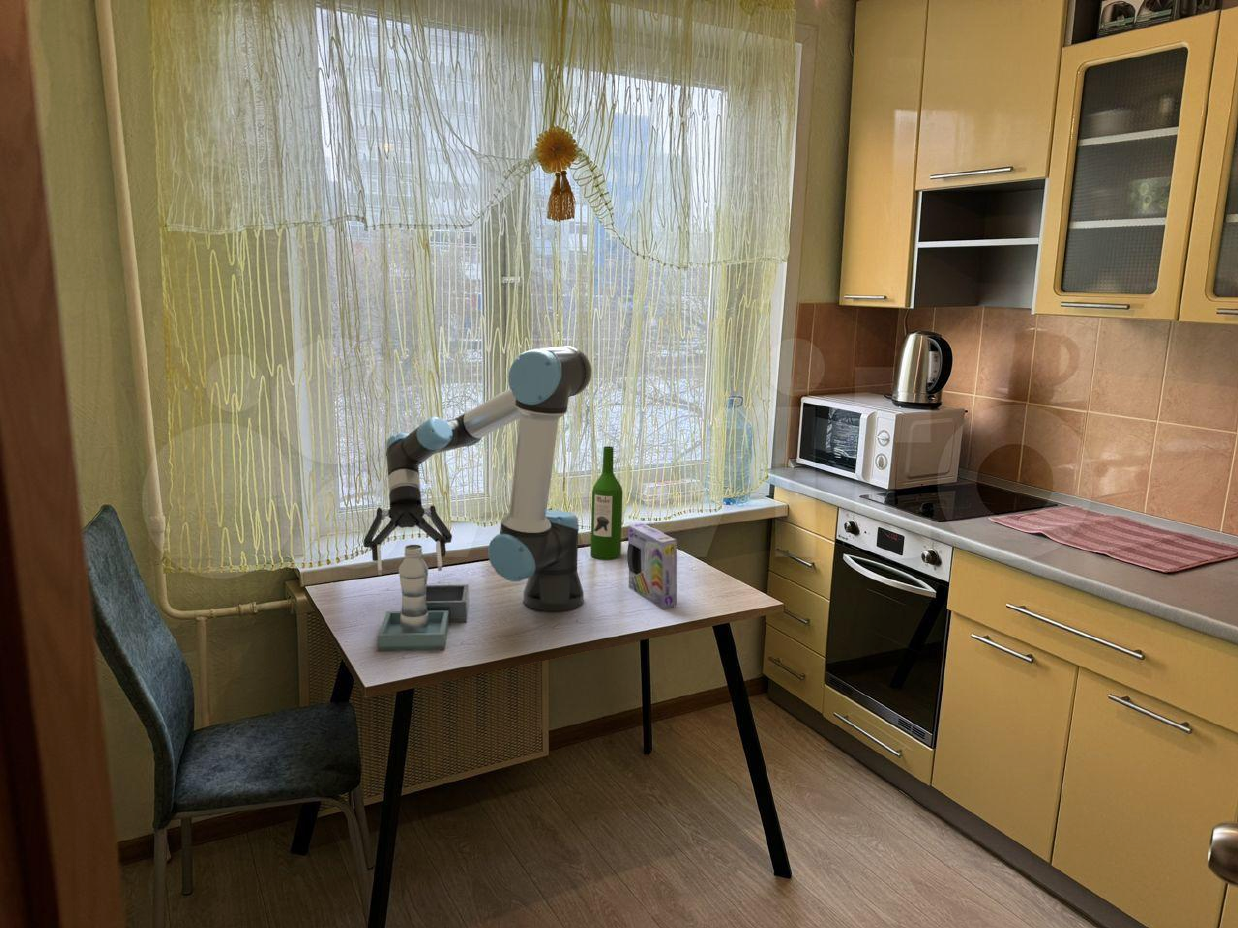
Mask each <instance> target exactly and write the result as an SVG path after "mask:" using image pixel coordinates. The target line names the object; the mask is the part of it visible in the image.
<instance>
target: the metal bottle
mask: <svg viewBox="0 0 1238 928" xmlns="http://www.w3.org/2000/svg"><path fill="white" fill-rule="evenodd" d="M422 551H423V549H422V545H419V544H407V545H406V546H405V547H404V557H405V558H404V560H403V561H402V562H401V564H400V566H399V567H398V575H399V581H400V589H401V599H402V600H401V611H402V612H401V616H400V627H401V630H402V631H403V633H425V632H426V631H427V629H428V628H429V615H428V611H427V601H426V587H427V585H428V579H429V578H428V576H429V566H428V564H427V563H426V561H425V560H424V559H423V558H422V556H423V552H422Z"/></svg>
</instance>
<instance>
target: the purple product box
mask: <svg viewBox="0 0 1238 928" xmlns="http://www.w3.org/2000/svg"><path fill="white" fill-rule="evenodd" d="M627 527H628V528H627V530H628V538H627V539H628V540H627V542H628V545H627V551H626V555H627V556H626V557H627V559H626V560H627V567H628V588H629V589H631V590H632V591H634V592H636V593H637V594H639V595H640V596H641V597H643V596H644V597H643V598H645V599H647V600H648V601H650V602H651V603H653V604H655V605H656V606H657V607H660V609H668V608H675V607H674V606H677V604H678V600H677V599H678V540H677V539H676V538H674V537H671V536H670V535H667V534H665V533H664V532H663V531H661V530H659V529H658V528H655V527H652V526H650V525H648V524H646V523H644V522H637V523H633V524H628V526H627Z"/></svg>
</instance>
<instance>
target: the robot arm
mask: <svg viewBox="0 0 1238 928" xmlns="http://www.w3.org/2000/svg"><path fill="white" fill-rule="evenodd" d="M591 378H592V365H591V362H590V360H589V359H588V356H586V354H585V353H584V352H583V351H581V350H580V349H579V348H576V347H573V346H569V345H564V346H563V345H562V346H553V347H536V348H533V349H529V350H527V351H523V352H522V353H520V354H519V355H518V356H517V357H516V358H515V359H514V360H513V362H512V364H511V365H510V367H509V371H508V378H507V379H508V387H509V388H508V389H506V390H504V391H503V392H501V393H498V394H497V395H495V396H493V397H491V398H490V399H488V400H486V401H485V402H482V403H481V404H479V405H478V406H475V407H474V408H471V409H469V410H468V411H466V412H464V413H463V414H461V415H459V416H457V417H455V418H453V419H448V420H445V419H443V418H440V417H438V416H432V417H430V418H428V419H427V420H426V421H423V422H422V423H421V424H420V425H419V426H418V427H416V428H415V429H414V430H413V431H411V432H410V433H402V432H401V433H397V434H395V435H391V436H389V438H388V439H387V440H386V451H385V456H386V469H387V480H388V481H387V483H388V499H389V500H388V501H389V502H388V503H389V509H388V510H387V509H382V508H381V507H378V508H376V516H375V518H374V519H373V522H372V523H371V525H370V527H369V529H368V530H367V533H366V535H365V537H364V539H363V547H364V548H366V549H367V548H370V549H371V559H372V561H373V562H377V571H378V572H377V573H378V576H382V575H383V574H382V573H383V567H382V566H383V564H382V548H381V545H382V543H383V542H384V541H385V540H386V539H387V538H388V537H389V536H390V535H391V533H392V532H393V531H395V529H396V528H397V527H400V528H414V527H415V526H416V527H417V528H418V529H420V530H422V531H423V532H425V533H426V534H427V535H428V536H429V537H430V538H431V539H432V540H433V541H434V542H435V543H436V544H435V545H436V546H435V548H436V549H435V551H436V559H437V560H436V561H437V571H438V572H442V570H443V559H442V557H446V552H447V551H446V544H450V543H451V542H452V538H453V535H452V533H451V532H450V530H449V529H448V527H447V526H446V524H445V523H444V522H443V520H442V519H441V518H440V516H439V515H438V513H437V509H436V506H435V505H430V506H429V507H427V508H424V507H423V505H422V493H421V482H420V471H419V466H420V465H421V464H423V463H424V462H425V461H427V460H428V459H429V458H430V457H433V456H434V455H436V454H440V453H443V452H448V451H451V450H456V449H461V448H464V447H470V446H471V447H472V446H473V445H475V444H478V443H479V442H480V441H481V440H482V439H483V438H484V437H486V436H487V435H490V434H492V433H493V432H495V431H497V430H499V429H501V428H503V427H504V426H506V425H509V424H510V423H512V422H515V421H516V420H519V425H518V426H519V427H518V433H517V442H516V451H515V452H516V453H515V459H514V468H513V476H512V484H511V493H510V501H509V509H508V513H506V514H505V515H504V516H502V517H501V519H500V520H501V521H500V527H499V528H500V529H499V534H496V535H495V536H494V537H493V538H492V540H490V542H489V545H488V548H487V555H488V560H489V563H490V565H491V566H492V567H493V568H494V571H495V572H496V573H497V574H498V576H500V577H501V578H503V579H504V580H507V581H510V582H520V581H523V580H526V579H527V581H526V584H525V587H524V590H523V595H522V597H523V598H522V599H523V603H524V605H526V606H527V607H529V608H530V609H534V610H538V611H544V612H564V611H570V610H573V609H576V608H578V607H580V606H582V604H584V602H585V601H584V597H585V596H584V595H585V593H584V589H583V586H582V585H583V584H582V583H581V579H580V576H579V573H578V558H579V557H578V551H579V550H578V549H579V548H578V547H579V530H580V529H579V519H578V517H577V515H575V514H573V513H571V512H568V511H562V510H557V509H556V510H555V509H548V501H549V494H550V488H551V480H552V473H553V465H554V457H555V450H556V445H557V444H556V442H557V435H558V428H559V421H560V419H561V417H563V416H564V415H566V414H567V413H568V411H567V410H568V405H569V399H570V397H574V396H577V395H579V394H580V393H582V392H583V391H584V390H586V388H587V387H588V385H589V384H590V381H591ZM424 516H427V517H428V518H430V519H431V522H433V523H432V524H434V526H435V527H436V528H437V530H436V529H435V528H434V526H432V525H431V524H430V523H429V522H428V521H426V519H425V518H424ZM386 517H388V518H389V519H390V520H389V522H388V523H387V524H386V526H385V527H384V528H383V529H382V530H381V531H380V532H379V533H378V534H377V535H376V533H377V531H378V529H379V528H380V525H381V523H382V521H383V520H385V519H386ZM375 535H376V537H375Z"/></svg>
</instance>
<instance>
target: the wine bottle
mask: <svg viewBox="0 0 1238 928" xmlns="http://www.w3.org/2000/svg"><path fill="white" fill-rule="evenodd" d="M602 453H603V455H602V470H601V474H600V475H599V477H598V479H597V480H596V481H595V483H594V485H593V487H592V490H591V516H590V517H591V518H590V520H591V521H590V556H591V558H593V559H596V560H600V561H601V560H602V561H612V560H617V559H619V558H620V557H621V554H622V549H621V548H622V527H623V526H622V524H623V523H622V522H623V521H622V518H623V517H622V516H623V488H622V487H623V486H621V484H620V482H619V480H618V479H617V477H616V476H615V473H614V446H611V445H610V446H603V451H602Z"/></svg>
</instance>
